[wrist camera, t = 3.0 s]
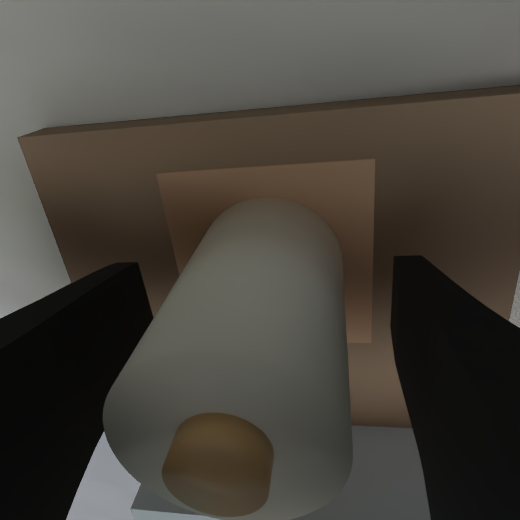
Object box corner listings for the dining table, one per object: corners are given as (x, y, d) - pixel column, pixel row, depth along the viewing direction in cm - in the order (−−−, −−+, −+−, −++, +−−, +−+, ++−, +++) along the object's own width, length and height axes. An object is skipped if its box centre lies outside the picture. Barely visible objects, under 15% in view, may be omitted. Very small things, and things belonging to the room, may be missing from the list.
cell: (190, 200, 11) (44, 378, 6) (341, 192, 10) (354, 387, 5) (213, 321, 13) (123, 546, 7) (343, 321, 12) (354, 571, 7)
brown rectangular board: (44, 128, 12) (15, 138, 11) (533, 83, 10) (558, 90, 9) (179, 525, 22) (171, 551, 20) (447, 551, 19) (454, 583, 18)
